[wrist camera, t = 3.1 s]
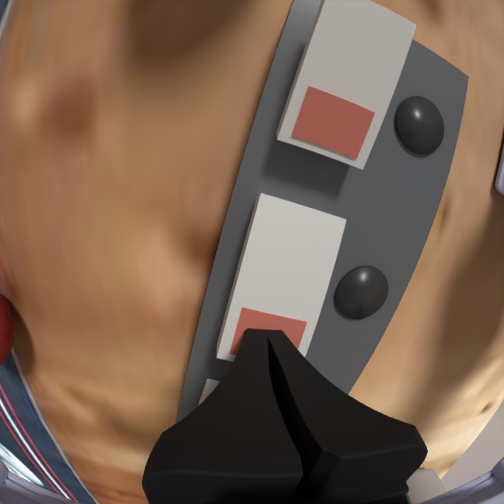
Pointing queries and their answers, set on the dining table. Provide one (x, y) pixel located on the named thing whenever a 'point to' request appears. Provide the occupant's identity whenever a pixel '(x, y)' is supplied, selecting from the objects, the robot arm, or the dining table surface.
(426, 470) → the stereo radio cassette player
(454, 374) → the dining table surface
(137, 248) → the dining table surface
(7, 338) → the onion
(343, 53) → the rocker
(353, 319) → the power strip
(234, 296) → the rocker middle
